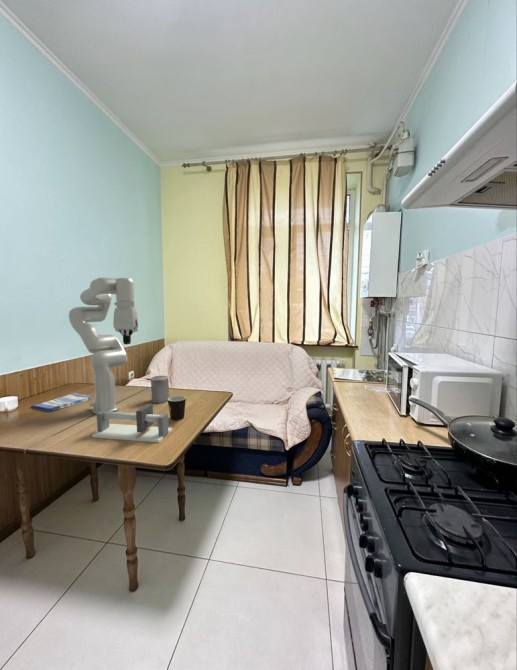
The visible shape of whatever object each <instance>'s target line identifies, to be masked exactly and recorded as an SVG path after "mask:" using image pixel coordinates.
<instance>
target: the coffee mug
mask: <svg viewBox="0 0 517 670" xmlns="http://www.w3.org/2000/svg"><path fill="white" fill-rule="evenodd" d="M186 401H187V397H186V396H185V395H173V396H169V398H168V401H167V403H168V411H169V415H170V420H171V421H175V422H176V421H182V420H184V419H185V413H186Z"/></svg>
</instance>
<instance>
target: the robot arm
mask: <svg viewBox="0 0 517 670" xmlns="http://www.w3.org/2000/svg"><path fill="white" fill-rule="evenodd" d="M134 289H135V288H134V280H133V279H132V278H129V277H118V278H115V277H98V278H95V279H93V280H92V281H90V285H89V288H87V289H85V290H83V291H82V292H81V293H80V295H79V299H80V300H81V302H82V303H83V304H85V305H86V306H77V307H73V308H71V310H69V313H68V319H69V320H68V321H69V322H70V325H71V327H72V328H73V330H74V331H76V333H77V334H78V335H79V336H80V338H81V340H82V343H83V345H84V346H85V348H86V349H87V351H88V352H89V353H91V356H90V364H91V368H92V371H93V383H94V385H93V386H94V387H93V388H94V399H95V401H94V400H93V401H90V403H89V407H93V408H92V409H91V410H92V412H91V413H92V414H96V415H97V413H99V412H101V411H103V410H108V411H109V412H117V411H118V410H119V409H120V405H119V404H116V403H117V399H116V397H117V396H116V383H115V382H116V379H115V375H114V373H113V372H112V371H111V370H110V369H113V368H119V367H123V366H125V365H126V364H127V362H128V360H129V358H128V354H127V351H126V350H125V348H124V347H123V345H130V344H131V342H132V337H131V336H132V335H133V333H136V332H138V331H139V330H138V328H139V319H138V313H137V312H138V311H137V308H136V307H135V294H134V292H135V291H134ZM112 295H115V298H116V300H115V302H114V306H116V307H114V309H113V310H114V311H113V322H112V323H113V324H112V325H113V329H115V330H114V331H115V332H118V333H120V335H121V337H122V342H123V345H122V344H121V342H120V340H119V338H118V337H117V336H115V335H114V334H101V333H99V331H98V330H97V328H96V327H95V326H93V325H92V324H90V323H98V322H100V323H101V322H103V321H105V320H106V318H107V316H108V312H109V310H110V307H111V303H112Z"/></svg>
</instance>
